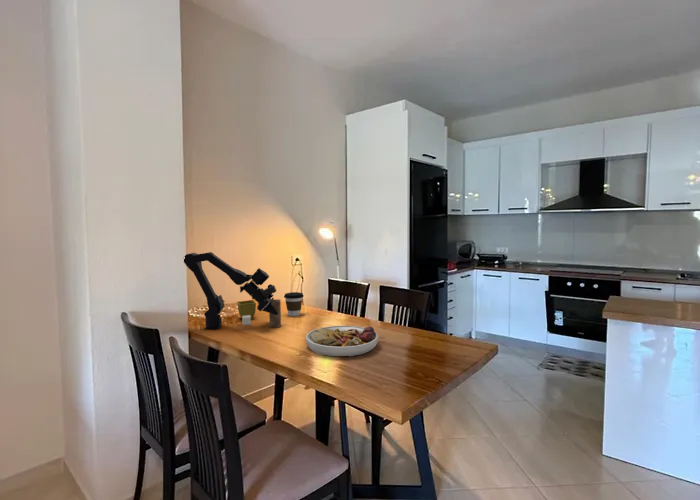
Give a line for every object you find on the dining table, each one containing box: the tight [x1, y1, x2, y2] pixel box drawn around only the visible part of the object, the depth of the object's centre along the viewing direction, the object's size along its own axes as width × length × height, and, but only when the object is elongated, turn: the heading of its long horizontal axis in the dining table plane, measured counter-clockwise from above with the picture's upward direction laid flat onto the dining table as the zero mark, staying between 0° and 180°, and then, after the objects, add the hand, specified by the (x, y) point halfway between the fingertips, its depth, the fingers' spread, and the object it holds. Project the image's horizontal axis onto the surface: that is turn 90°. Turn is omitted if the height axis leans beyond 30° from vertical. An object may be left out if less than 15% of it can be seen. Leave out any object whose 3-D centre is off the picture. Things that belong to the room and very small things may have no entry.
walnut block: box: [268, 298, 282, 328], centre depth 189 cm, size 5×5×13 cm
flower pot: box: [236, 299, 257, 320], centre depth 205 cm, size 9×9×9 cm
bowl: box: [305, 325, 379, 357], centre depth 158 cm, size 30×30×8 cm
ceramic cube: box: [241, 315, 252, 326], centre depth 194 cm, size 4×4×4 cm
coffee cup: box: [283, 291, 304, 317], centre depth 212 cm, size 11×11×12 cm
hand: (277, 313), depth 189 cm, fingers closed on walnut block, 5 cm apart
